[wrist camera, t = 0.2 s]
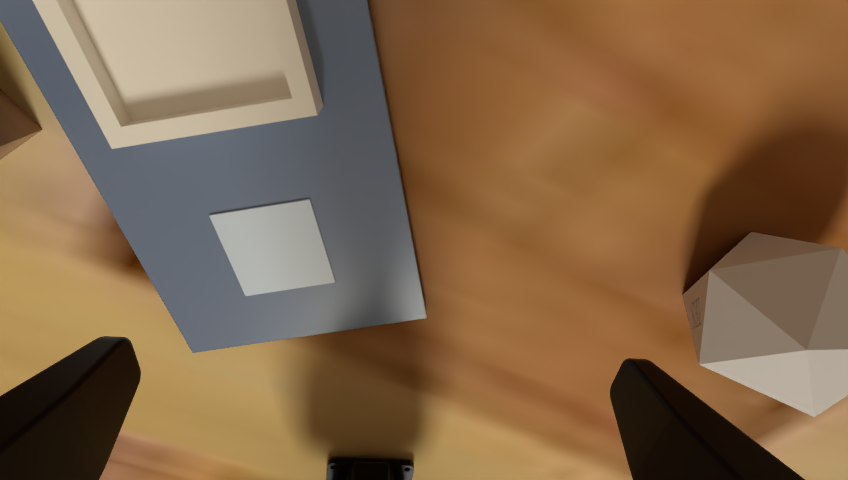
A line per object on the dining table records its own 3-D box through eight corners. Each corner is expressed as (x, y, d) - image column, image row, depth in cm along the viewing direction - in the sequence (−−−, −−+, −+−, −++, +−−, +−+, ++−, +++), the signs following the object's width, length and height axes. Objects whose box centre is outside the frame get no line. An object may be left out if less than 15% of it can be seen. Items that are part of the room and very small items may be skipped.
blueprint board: (425, 309, 26) (428, 337, 24) (198, 343, 26) (181, 373, 24) (332, -187, 15) (322, -216, 13) (-60, -115, 15) (-132, -131, 13)
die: (640, 239, 25) (682, 420, 21) (834, 177, 19) (940, 416, 15) (698, 266, 30) (741, 417, 26) (868, 223, 24) (955, 413, 20)
